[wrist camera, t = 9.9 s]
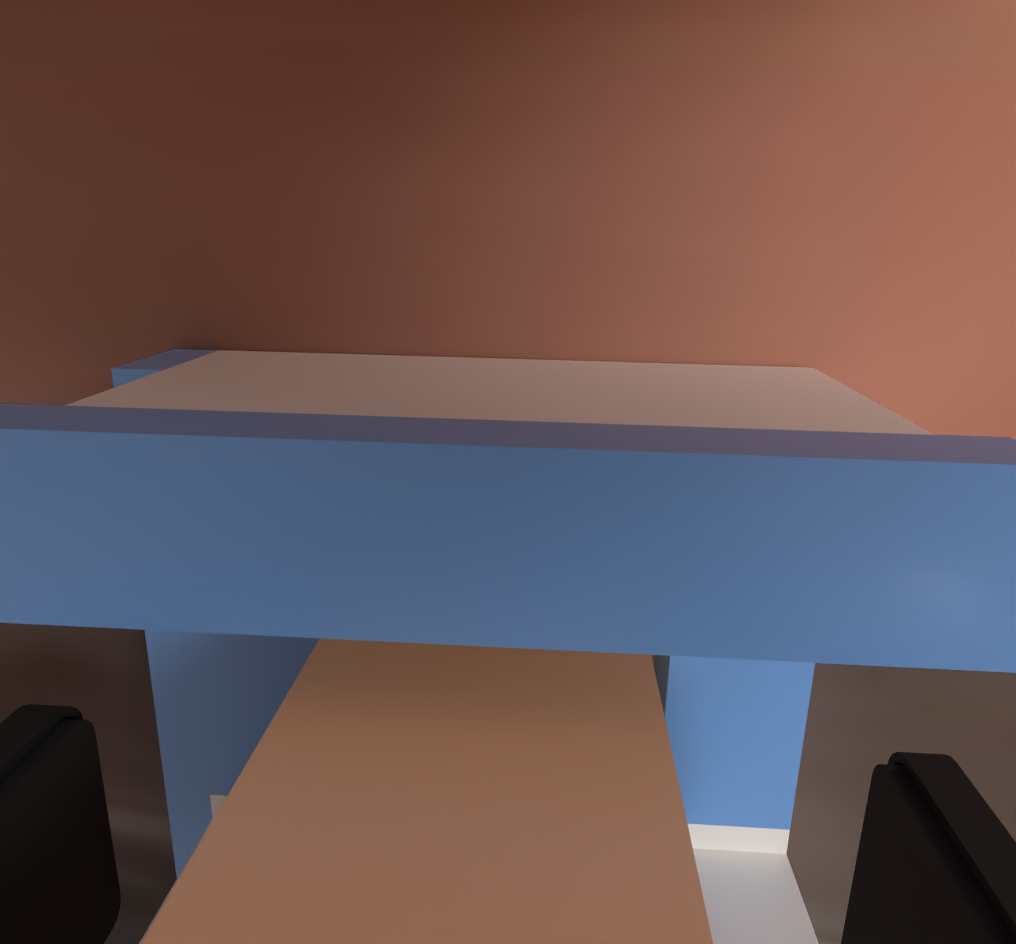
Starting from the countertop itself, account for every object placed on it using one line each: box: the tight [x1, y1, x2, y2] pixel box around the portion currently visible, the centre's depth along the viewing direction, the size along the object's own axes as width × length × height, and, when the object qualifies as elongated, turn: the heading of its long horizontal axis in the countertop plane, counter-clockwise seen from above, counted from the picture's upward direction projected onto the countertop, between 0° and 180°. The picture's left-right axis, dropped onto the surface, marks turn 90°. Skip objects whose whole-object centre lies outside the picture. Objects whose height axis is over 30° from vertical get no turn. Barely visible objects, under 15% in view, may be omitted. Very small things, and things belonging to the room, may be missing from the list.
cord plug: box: [141, 638, 713, 944], centre depth 9 cm, size 4×4×11 cm
